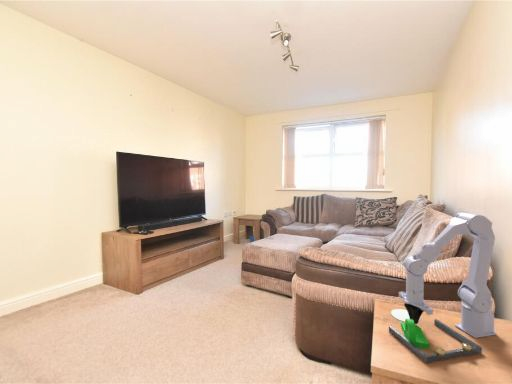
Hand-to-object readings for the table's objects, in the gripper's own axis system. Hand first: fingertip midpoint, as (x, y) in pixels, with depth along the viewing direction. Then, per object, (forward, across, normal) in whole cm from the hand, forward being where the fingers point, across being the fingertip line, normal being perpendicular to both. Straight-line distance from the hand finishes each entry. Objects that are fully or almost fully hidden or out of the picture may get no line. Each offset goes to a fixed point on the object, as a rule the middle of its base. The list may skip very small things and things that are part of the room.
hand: (414, 323), depth 99 cm
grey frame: (+1, +9, -1) cm, 9 cm away
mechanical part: (+2, +5, -5) cm, 8 cm away
